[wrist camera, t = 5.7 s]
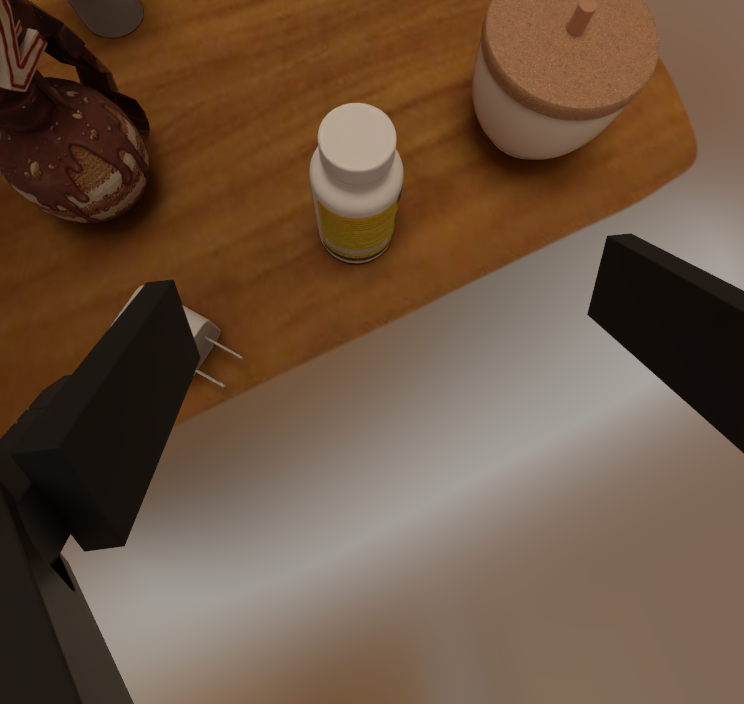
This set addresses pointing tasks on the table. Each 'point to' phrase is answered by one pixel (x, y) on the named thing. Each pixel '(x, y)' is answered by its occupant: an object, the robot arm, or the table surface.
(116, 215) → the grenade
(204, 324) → the usb wall charger
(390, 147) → the supplement bottle
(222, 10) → the table surface
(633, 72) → the trinket box
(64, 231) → the table surface
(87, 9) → the cup
